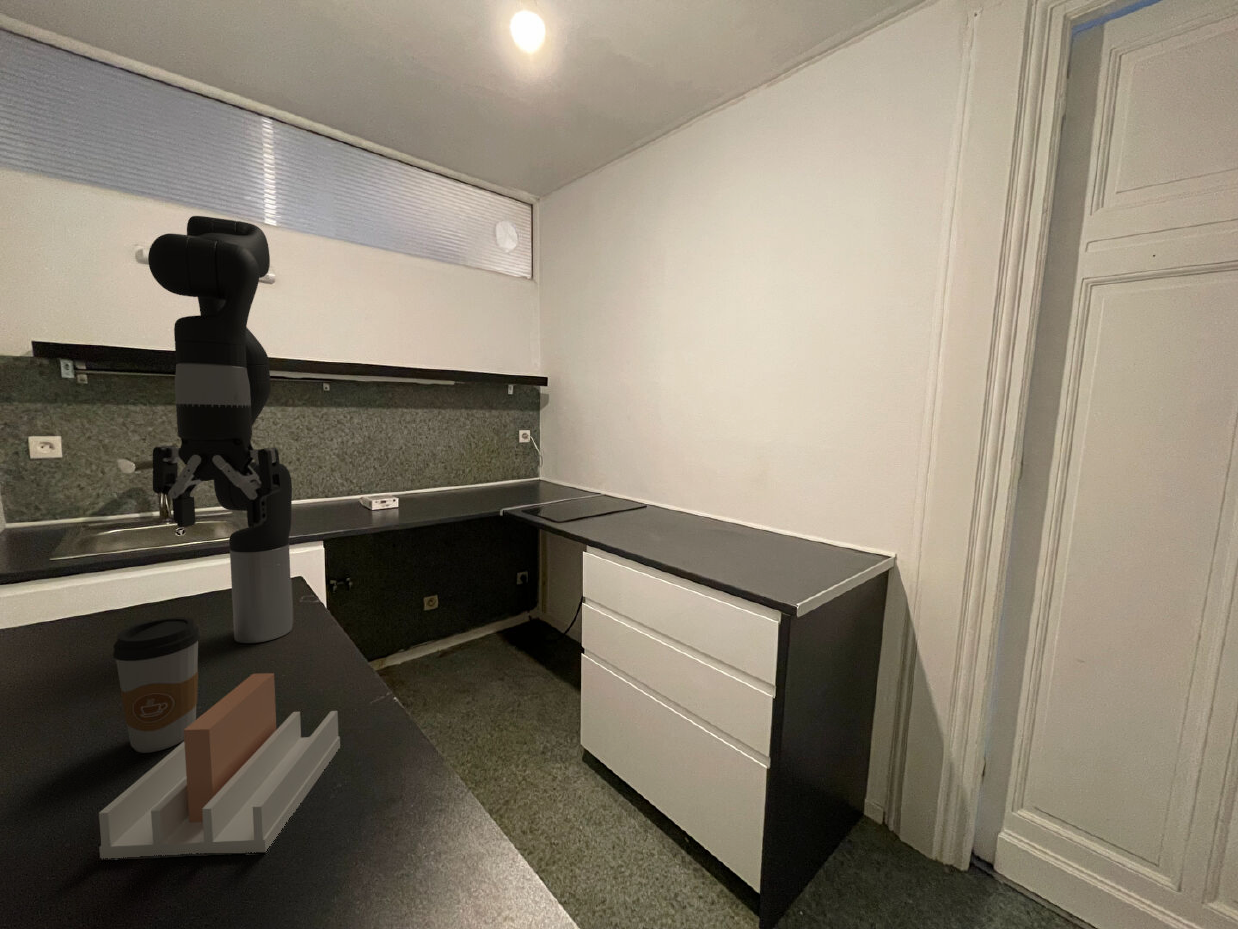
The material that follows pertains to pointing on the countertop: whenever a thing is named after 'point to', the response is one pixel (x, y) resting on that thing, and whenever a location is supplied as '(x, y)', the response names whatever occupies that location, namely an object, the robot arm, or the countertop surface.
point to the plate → (227, 739)
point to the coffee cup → (158, 681)
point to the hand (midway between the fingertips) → (221, 526)
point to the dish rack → (220, 799)
